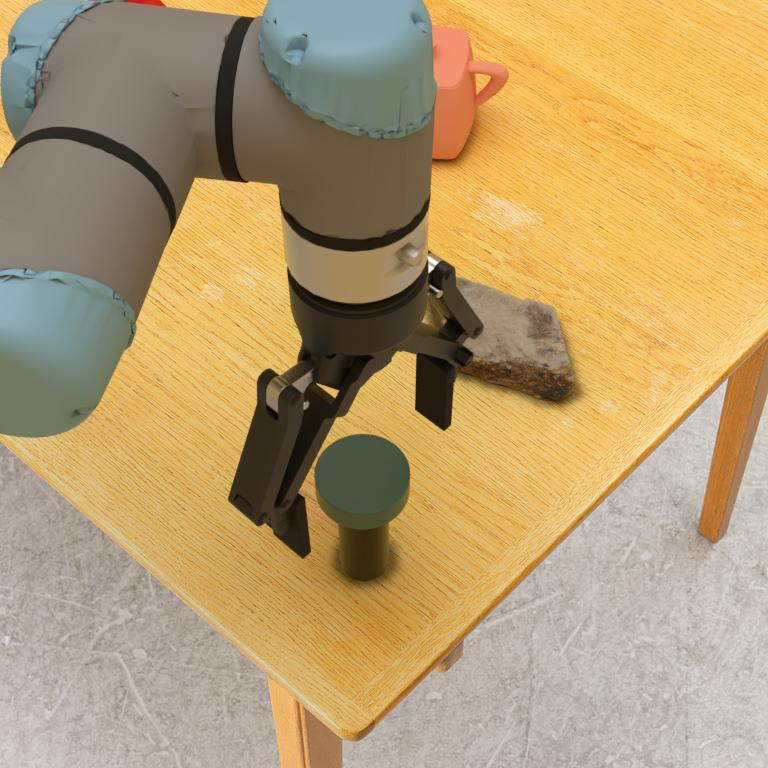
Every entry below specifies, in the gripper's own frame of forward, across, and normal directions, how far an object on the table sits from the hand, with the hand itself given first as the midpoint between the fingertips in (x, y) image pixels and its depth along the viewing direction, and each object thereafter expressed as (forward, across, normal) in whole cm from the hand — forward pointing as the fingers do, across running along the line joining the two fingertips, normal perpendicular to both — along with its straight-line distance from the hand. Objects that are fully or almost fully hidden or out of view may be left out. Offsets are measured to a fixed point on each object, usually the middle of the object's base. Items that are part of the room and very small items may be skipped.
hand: (365, 478), depth 78 cm
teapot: (+12, +39, +31) cm, 51 cm away
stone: (+12, +23, +6) cm, 26 cm away
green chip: (+1, 0, 0) cm, 1 cm away
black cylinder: (+11, 0, 0) cm, 11 cm away
